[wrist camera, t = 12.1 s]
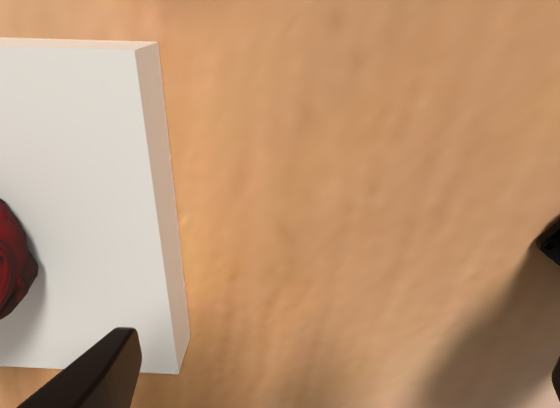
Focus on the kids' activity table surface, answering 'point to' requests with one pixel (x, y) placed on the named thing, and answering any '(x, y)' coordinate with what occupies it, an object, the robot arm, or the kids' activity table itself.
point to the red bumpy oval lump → (14, 262)
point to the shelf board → (91, 201)
